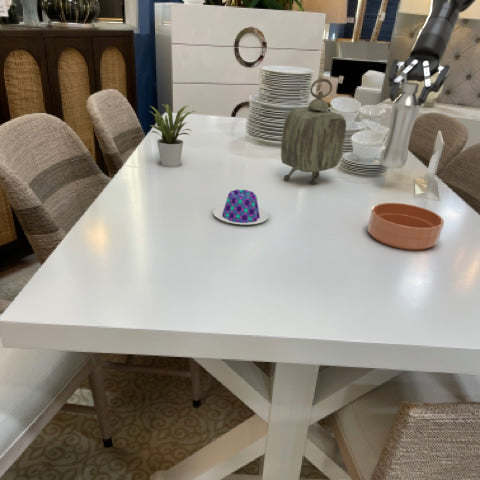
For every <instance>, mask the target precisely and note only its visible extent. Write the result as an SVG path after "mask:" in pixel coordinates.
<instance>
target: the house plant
mask: <svg viewBox="0 0 480 480" xmlns="http://www.w3.org/2000/svg"><path fill="white" fill-rule="evenodd" d="M189 106H190V104H188V105H183V106H182V107H181V108H180V109H179V110H178V111H177V113H176V115H175V119H174V117H173V111H172V109H171V107H170V106H169V103H168V102H166V104H164V105H163V107H164V108H165V111H166V113H167V114H166V115H165V116H164V117H163V116H162V114H161V113H160V112H159V111H158V110H157V109H156V108H155V107H154V106H151V105H150V108H152V110H153V111H154V112H155V113H153V111H150V110H149V111H148V112H149V113H152V115H153V116H154V122H155V124H153V125H152V124H149V126H150V127H152V128H154V129H156V130H157V131H155V130H152V131H151V133H154V134H157V135H158V136H159V137H161V138H159V139H157V140H156V142H157V148H158V149H157V150H158V154H159V160H160V165H161V166H164V167H168V168H169V167H170V168H173V167H179V166H180V165H181V160H182V154H183V147H184V140H181V139H178V138H179V136H181V135H187V136H190V134H189V133H188V132H184V131H190V132H191V133H192V130H191V129H190V128H185V129H183V127H184V126H185V124H188V123H189V122H187V121H185V122H184V120H185V119H186V117H187V116H188V115H190V114H191V113H194V112H195V110H192V111H188V112H186V111H185V109H186V108H187V107H189ZM182 129H183V130H182ZM158 131H159V132H161V133H159V132H158Z"/></svg>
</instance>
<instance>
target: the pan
mask: <svg viewBox="0 0 480 480" xmlns="http://www.w3.org/2000/svg"><path fill="white" fill-rule="evenodd" d="M369 216H370V217H369V221H368V225H367V231H368V233H369V235H371V236H372V238H373V239H374V240H376V241H377V242H378V243H381V244H384V245H385V246H388V247H392V248H395V249H399V250H400V249H401V250H407V251H422V250H427V249H430V248H432V247H435V246H436V245H437V244H438V243H439V240H440V236H441V233H442V230H443V228H444V222H445V221H444V219H443V218H442V216H441V215H439V214H437V213H436V212H435V211H432V210H429V209H427V208H425V207H421V206H417V205H413V204H409V203H402V202H401V203H400V202H399V203H398V202H383V203H378V204H376V205H374V206H373V207H372V209H371V212H370V215H369Z"/></svg>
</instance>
